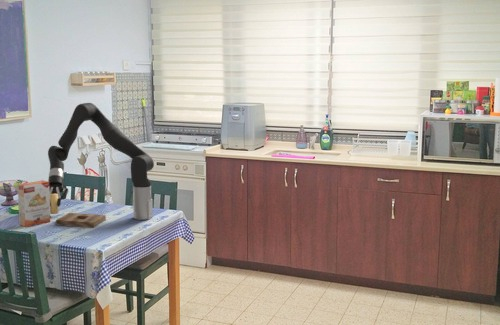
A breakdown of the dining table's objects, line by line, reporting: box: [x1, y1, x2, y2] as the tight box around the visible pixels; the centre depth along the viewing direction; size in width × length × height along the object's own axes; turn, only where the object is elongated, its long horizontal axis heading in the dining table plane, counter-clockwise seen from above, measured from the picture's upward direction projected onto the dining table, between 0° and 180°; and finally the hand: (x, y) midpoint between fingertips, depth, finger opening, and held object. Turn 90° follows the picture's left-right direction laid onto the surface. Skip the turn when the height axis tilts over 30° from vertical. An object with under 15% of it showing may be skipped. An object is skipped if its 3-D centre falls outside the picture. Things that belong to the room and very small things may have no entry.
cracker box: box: [17, 179, 51, 228], centre depth 274 cm, size 14×6×21 cm, turn 143°
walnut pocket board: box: [55, 212, 107, 228], centre depth 279 cm, size 20×14×2 cm
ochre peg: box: [50, 194, 59, 215], centre depth 288 cm, size 4×4×10 cm
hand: (53, 205), depth 286 cm, fingers closed on ochre peg, 4 cm apart
